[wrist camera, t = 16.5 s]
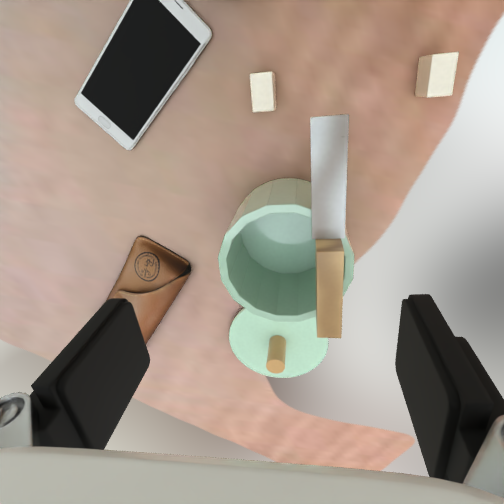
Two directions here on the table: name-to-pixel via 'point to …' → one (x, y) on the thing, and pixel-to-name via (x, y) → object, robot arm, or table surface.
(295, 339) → the lid
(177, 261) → the sunglasses case
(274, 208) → the pot
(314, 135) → the knife
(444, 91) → the pair of cream blocks
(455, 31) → the table surface
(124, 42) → the smartphone
